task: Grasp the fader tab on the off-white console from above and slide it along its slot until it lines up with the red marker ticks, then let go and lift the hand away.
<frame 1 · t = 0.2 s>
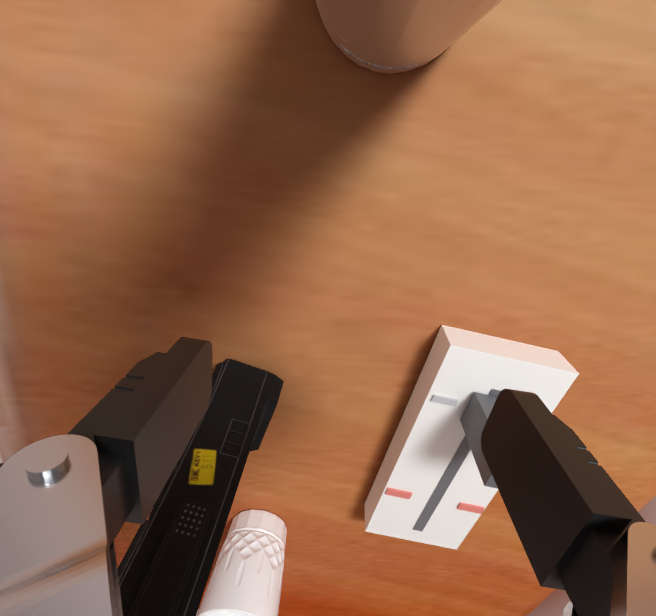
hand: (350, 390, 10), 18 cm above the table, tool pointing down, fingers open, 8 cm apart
console: (446, 439, 34), on the table
fader tab: (502, 440, 25), point 6 cm above the table, slide at 0.0 cm
white cup: (260, 524, 43), on the table
portable radio: (246, 387, 33), on the table
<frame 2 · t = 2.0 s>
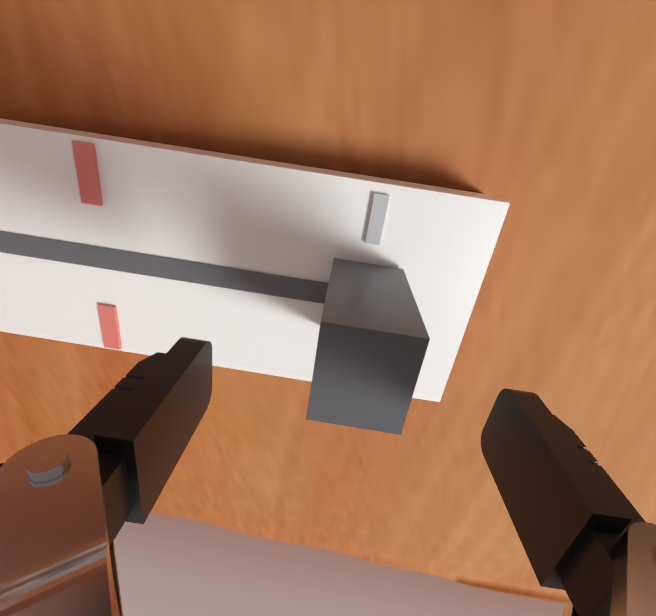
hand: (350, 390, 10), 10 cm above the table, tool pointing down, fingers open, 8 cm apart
console: (230, 255, 19), on the table
fader tab: (362, 332, 13), point 6 cm above the table, slide at 0.0 cm
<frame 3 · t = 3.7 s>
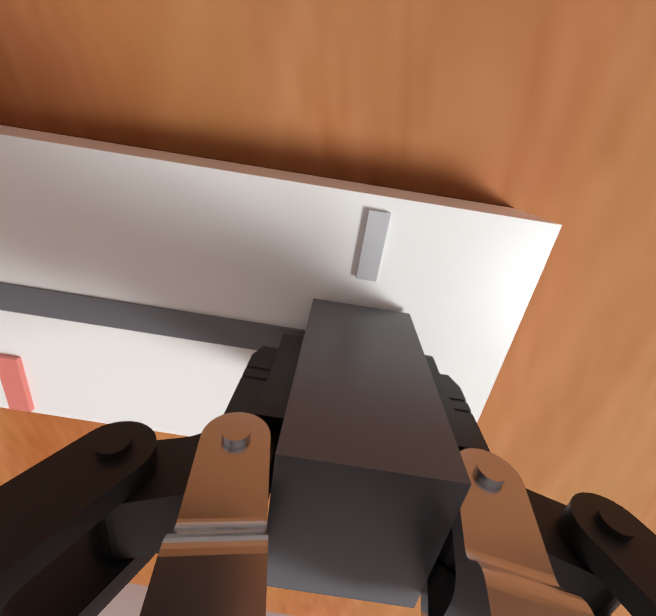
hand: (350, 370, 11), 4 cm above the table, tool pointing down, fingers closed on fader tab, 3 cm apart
console: (182, 285, 14), on the table
fader tab: (352, 418, 9), point 6 cm above the table, slide at 0.0 cm, touching gripper
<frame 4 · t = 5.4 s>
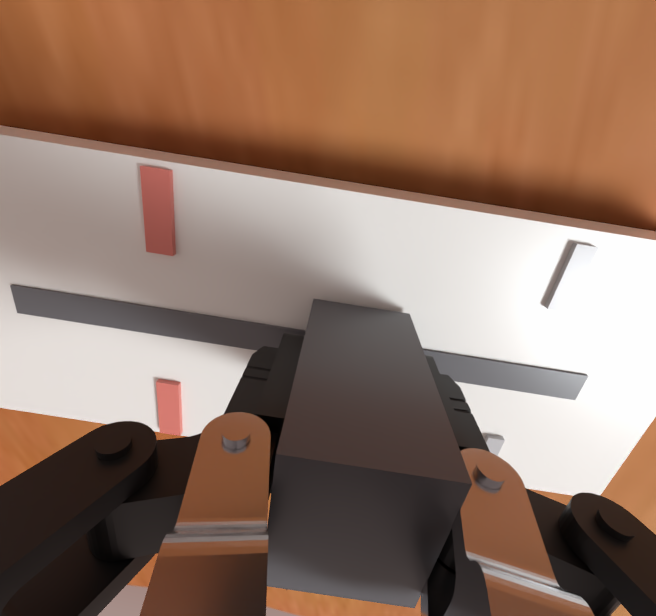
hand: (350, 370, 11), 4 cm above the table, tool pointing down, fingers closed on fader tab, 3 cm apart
console: (321, 307, 14), on the table
fader tab: (352, 418, 9), point 6 cm above the table, slide at 5.8 cm, touching gripper
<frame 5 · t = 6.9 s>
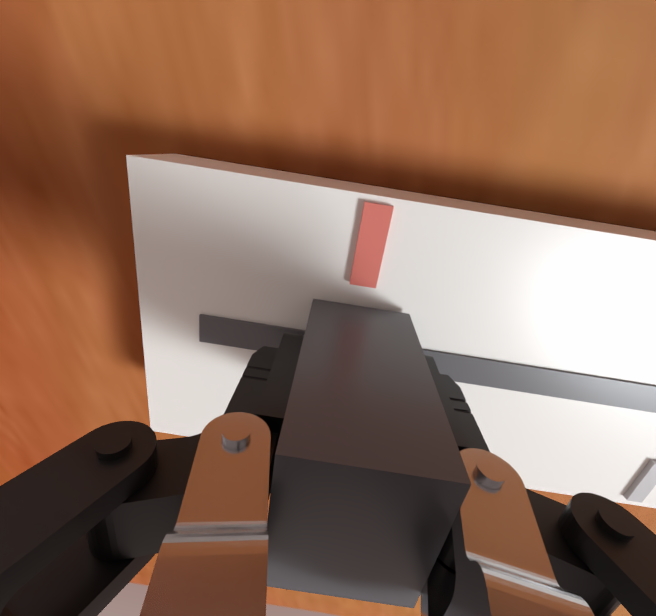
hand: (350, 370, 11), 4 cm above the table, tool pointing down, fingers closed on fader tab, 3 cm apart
console: (468, 331, 14), on the table
fader tab: (351, 418, 9), point 6 cm above the table, slide at 11.9 cm, touching gripper
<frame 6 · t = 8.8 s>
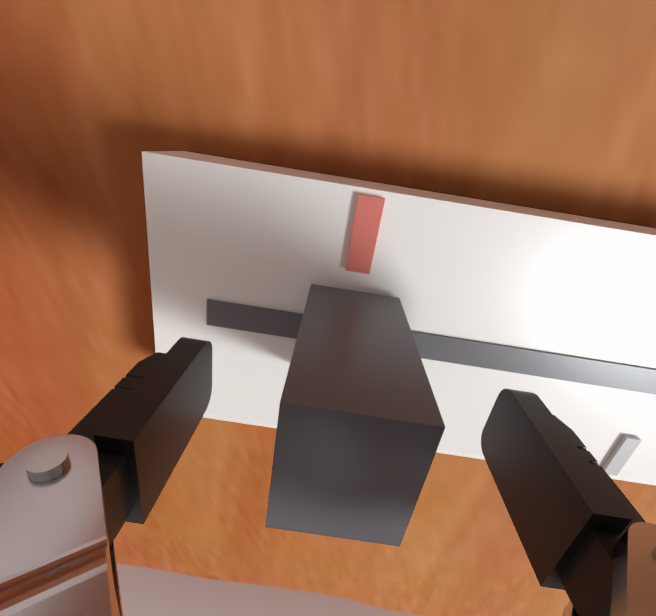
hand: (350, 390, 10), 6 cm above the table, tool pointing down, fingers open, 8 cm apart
console: (456, 317, 15), on the table
fader tab: (346, 388, 10), point 6 cm above the table, slide at 11.9 cm
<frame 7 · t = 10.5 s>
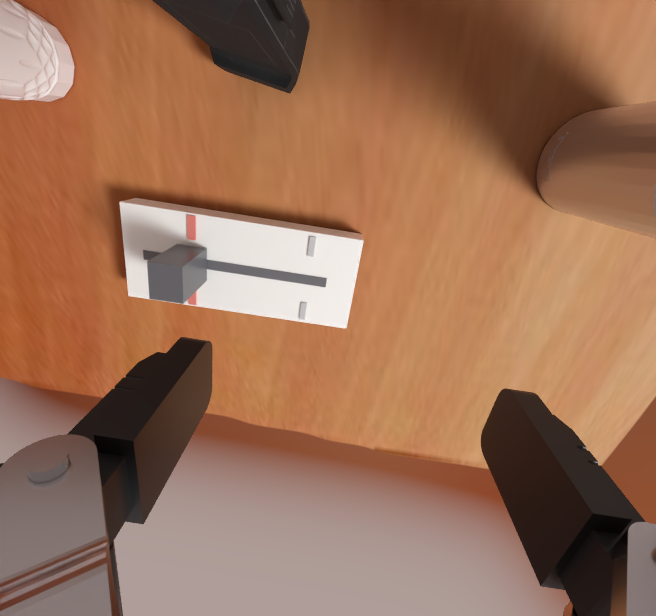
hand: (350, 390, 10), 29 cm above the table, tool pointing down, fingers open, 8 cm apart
console: (247, 261, 39), on the table
fader tab: (179, 272, 33), point 6 cm above the table, slide at 11.9 cm
white cup: (39, 59, 32), on the table
portable radio: (271, 46, 31), on the table
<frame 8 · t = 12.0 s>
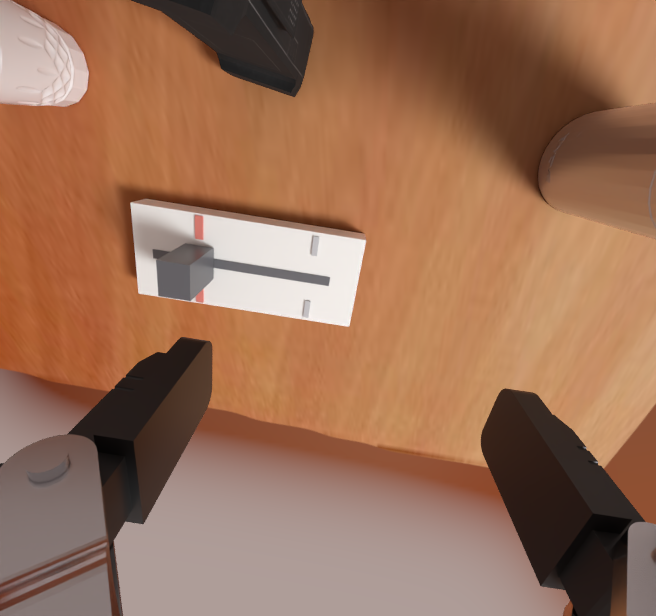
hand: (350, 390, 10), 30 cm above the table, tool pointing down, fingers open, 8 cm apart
console: (253, 260, 40), on the table
fader tab: (187, 270, 34), point 6 cm above the table, slide at 11.9 cm
white cup: (56, 66, 33), on the table
portable radio: (277, 51, 32), on the table
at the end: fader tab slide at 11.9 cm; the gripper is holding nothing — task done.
